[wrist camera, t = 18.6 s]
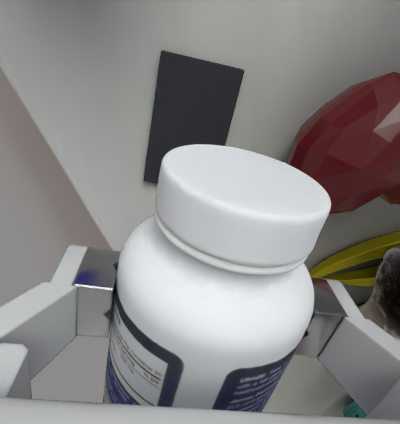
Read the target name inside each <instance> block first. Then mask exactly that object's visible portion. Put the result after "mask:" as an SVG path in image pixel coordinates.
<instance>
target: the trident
mask: <svg viewBox="0 0 400 424" xmlns="http://www.w3.org/2000/svg"><path fill="white" fill-rule="evenodd" d="M393 247H400V231H397V232H394V233H390V234H386V235H383V236H380V237H376V238H373V239H370V240H368V241H365V242H362V243H360V244H357V245H355V246H352V247H350V248H348V249H346V250H343V251H341V252H339V253H337V254H335V255H333V256H331V257H329V258H327V259H326V260H324V261H322V262H321V263H320V264H318V265H317V266H315V267H314V268H313V269H312V270H311V271H309V274H310V277H312V278H321V277H322V279H323V278H324V279H333V280H338V281H339V282H341V283H342V284H346V285H353V286H374V283H375V278H376V274H377V271H378V268H379V266H380V265H379V266H375V267H370V268H366V269H361V270H356V271H350V272H343V273H335V274H331V273H334V272H336V271H339V270H342V269H345V268H348V267H351V266H354V265H358V264H361V263H364V262H368V261H371V260H375V259H378V258H382V257H384V255H385V253H386V252H387V251H388V250H389V249H391V248H393ZM363 305H364V304H363ZM363 305H359V306H357V308H359V307H361V306H363ZM392 337H393V336H392Z"/></svg>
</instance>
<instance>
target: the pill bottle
mask: <svg viewBox="0 0 400 424" xmlns="http://www.w3.org/2000/svg"><path fill="white" fill-rule="evenodd" d="M330 209H331V200H330V197H329V195H328V193H327V192H326V190H325V189H324V188H323V187H322V186H321V185H320V184H319V183H318V182H316V181H315V180H314V179H312V178H311V177H310V176H308V175H307V174H305V173H303V172H301V171H300V170H298V169H296V168H294V167H292V166H290V165H288V164H286V163H284V162H281V161H279V160H276V159H273V158H270V157H268V156H265V155H262V154H258V153H255V152H251V151H247V150H243V149H239V148H233V147H227V146H220V145H209V144H194V145H185V146H181V147H177V148H175V149H172V150H171V151H169V152H168V153H167V154H166V155H165V156H164V158H163V160H162V163H161V168H160V173H159V180H158V186H157V191H156V197H155V206H154V216H151V217H150V218H148V219H146V220H145V221H143V222H142V223H141V224H140V225H139V226H137V227H136V228H135V229H134V230H133V231H132V233H131V234H130V235H129V237H128V238H127V240H126V242H125V244H124V245H123V248H122V251H121V253H120V257H119V262H118V269H117V279H116V287H115V295H114V306H113V315H112V322H111V331H110V339H109V349H108V359H107V367H106V377H105V386H104V395H103V403H110V404H127V405H145V406H162V407H179V408H196V409H213V410H230V411H247V412H262V410H263V408H264V406H265V405H266V403H267V401H268V399H269V398H270V396H271V394H272V392H273V391H274V389H275V387H276V385H277V383H278V381H279V380H280V378H281V376H282V374H283V372H284V371H285V369H286V367H287V365H288V363H289V362H290V360H291V358H292V356H293V355H294V353H295V351H296V349H297V347H298V345H299V343H300V341H301V339H302V337H303V335H304V333H305V331H306V329H307V327H308V325H309V323H310V320H311V317H312V314H313V309H314V289H313V284H312V280H311V277H310V274H309V272H308V269H307V267H306V266H305V264H304V262H305V260H306V259H307V257H308V255H309V254H310V253H311V252H312V250H313V248H314V246H315V244H316V241H317V238H318V236H319V234H320V231H321V229H322V227H323V225H324V223H325V221H326V219H327V217H328V214H329V212H330Z"/></svg>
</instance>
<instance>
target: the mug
mask: <svg viewBox="0 0 400 424" xmlns="http://www.w3.org/2000/svg"><path fill="white" fill-rule="evenodd" d="M358 309H359V311H360V312H361V314H362V315H363V317H364V318H365V319H369V320H371V321H372V322H373V323H375V324H376V325H377V326H379V327H380V328H382V329H383V330H384V331H386V332H387V333H388V334H390V335H391V336H393V337H396V338H398V339H399V340H400V247H393V248H391V249H389V250H388V251H387V252H386V253H385V255H384V257H383V261H382V262H381V264H380V266H379V268H378V271H377V274H376V278H375V283H374V289H373V292H372V295H371V297H370V298H369V300H368V301H367V302H366V303H365V304H364V305H363V306H361V307H359V308H358Z"/></svg>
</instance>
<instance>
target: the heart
mask: <svg viewBox="0 0 400 424" xmlns="http://www.w3.org/2000/svg"><path fill="white" fill-rule="evenodd" d="M287 164H288V165H290V166H292V167H294V168H296V169H298V170H300V171H301V172H303V173H305V174H307V175H308V176H310V177H311V178H312V179H314V180H315V181H316V182H318V183H319V184H320V185H321V186H322V187H323V188H324V189H325V190H326V192H327V193H328V195H329V197H330V200H331V209H330V212H329V214H333V213H341V212H348V211H353V210H355V209H357V208H358V207H360V206H362V205H364V204H366V203H367V202H369V201H371V200H373V199H374V198H376V197H378V196H380V197H381V198H383V199H384V200H386V201H387V202H388V203H390V204H400V73H397V72H392V73H389V74H386V75H383V76H380V77H377V78H373V79H370V80H367V81H364V82H361V83H358V84H355V85H352V86H351V87H350V88H348V89H347V90H345V91H344V92H342V93H341V94H339V95H338V96H337V97H335V98H334V99H332V100H331V101H329V102H328V103H326V104H325V105H323V106H322V107H321V108H320V109H319V110H318V111H317V112H316V113H315V114H314V115H313V116H312V117H311V118H309V119H308V120H307V121H306V122H305V123H304V124H303V125H302V126H301V128H300V130H299V132H298V134H297V136H296V138H295V140H294V143H293V145H292V148H291V150H290V152H289V155H288V158H287Z"/></svg>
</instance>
